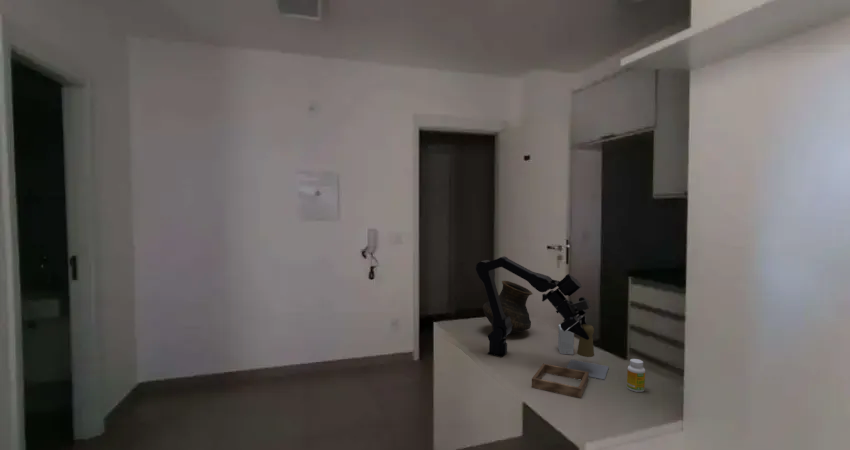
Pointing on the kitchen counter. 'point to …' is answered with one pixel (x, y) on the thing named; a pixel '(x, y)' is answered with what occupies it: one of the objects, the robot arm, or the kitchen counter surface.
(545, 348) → the kitchen counter surface
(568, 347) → the small box
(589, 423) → the kitchen counter surface
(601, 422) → the kitchen counter surface
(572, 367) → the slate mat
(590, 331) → the cork
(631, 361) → the supplement bottle
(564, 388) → the walnut frame
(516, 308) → the ceramic pot
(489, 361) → the kitchen counter surface
